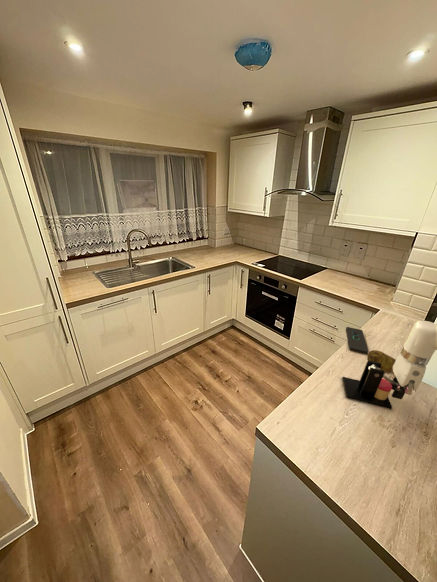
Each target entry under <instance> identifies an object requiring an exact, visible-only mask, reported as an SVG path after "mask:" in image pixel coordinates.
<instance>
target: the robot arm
mask: <svg viewBox="0 0 437 582" xmlns="http://www.w3.org/2000/svg"><path fill="white" fill-rule="evenodd" d="M436 351H437V323H435V322H432V321H428V320H418V321H417V322H415V323H414V325H413V327H412V329H411V331H410V333H409V335H408V337H407V338H406V340H405V343H404V345H403V346H402V349H401V351H400V353H399V354H398V356H397V358H396V359H395V360H396V361H395V363H394V365H393V371H392V373H393V375H392V377H391V380H393V381H394V382H396V383H399V384H398V387H397V388H394V385H392V384H391V385H392V390H391V391H393V392H392V393H391V398H394V399H397V400H402V399H403V398H404V396H405V394H406V395H410V396H411V395H412V393H413V391H417V390H418V389H419V386H421V383H422V381H423V378H424V376H425V374H426V370H427V366H428V364H429V362H430V360H431V359H432V357H433V355H434V354H435V352H436ZM401 387H405V388H401Z"/></svg>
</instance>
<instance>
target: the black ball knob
mask: <svg viewBox="0 0 437 582" xmlns="http://www.w3.org/2000/svg"><path fill="white" fill-rule="evenodd" d="M368 368H369V370H370V368H375V369H380V368H379V367H377V366H376V365H374V364H372V365H371V366H369V367H368ZM382 379H385V380H387V381H388V382H390V383H391V384H392V385H394V388H397V387H398V384H399V383H396V382H394V381H393V380H392V378H390V377H389V376H387V375H386V374H384V376H383V378H382ZM401 388H405V387H401Z"/></svg>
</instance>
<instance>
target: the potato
mask: <svg viewBox="0 0 437 582" xmlns="http://www.w3.org/2000/svg"><path fill="white" fill-rule="evenodd" d="M366 360H367V361H368V360H369V361H374V362H379V363H381V364H382V365H381V367H380V370H384V371H385V372H387V373H388V372H393V365H394V363H395V361H396V359H395V358H394V357H392V356H390V355H388V354H386V353H384V352H383V351H380V350H377V349H373V350H370V351H368V354H367V358H366Z"/></svg>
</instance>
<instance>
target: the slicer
mask: <svg viewBox="0 0 437 582" xmlns="http://www.w3.org/2000/svg"><path fill="white" fill-rule="evenodd" d="M372 364H374V365H376V366H377V367H379V368H380V367H381V365H382V364H381V363H379V362H374V361H369V360H367V361H366V363H365V366H364V368H363V372H362V374H361V376H360V379H354V378H351V377H346V376H342V377H341V380H342V386H343V390H344V396H345V398H346V399H349V400H353V401H358V402H361V403H365V404H369V405H373V406H377V407H381V408H385V409H389V410H392V409H393V406H392V403H391V401H390V398H389V396H388V397H387V399H386V400H380V399H378V398H376V397H374V396H375V393H376V391H377V389H378V387H379V384H380V382H381V380H382V379H384V378H383V376H384V375H385V373H386V371H384V370H380V369H375V368H370V370H369V368H368V367H369V366H371V365H372Z"/></svg>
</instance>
